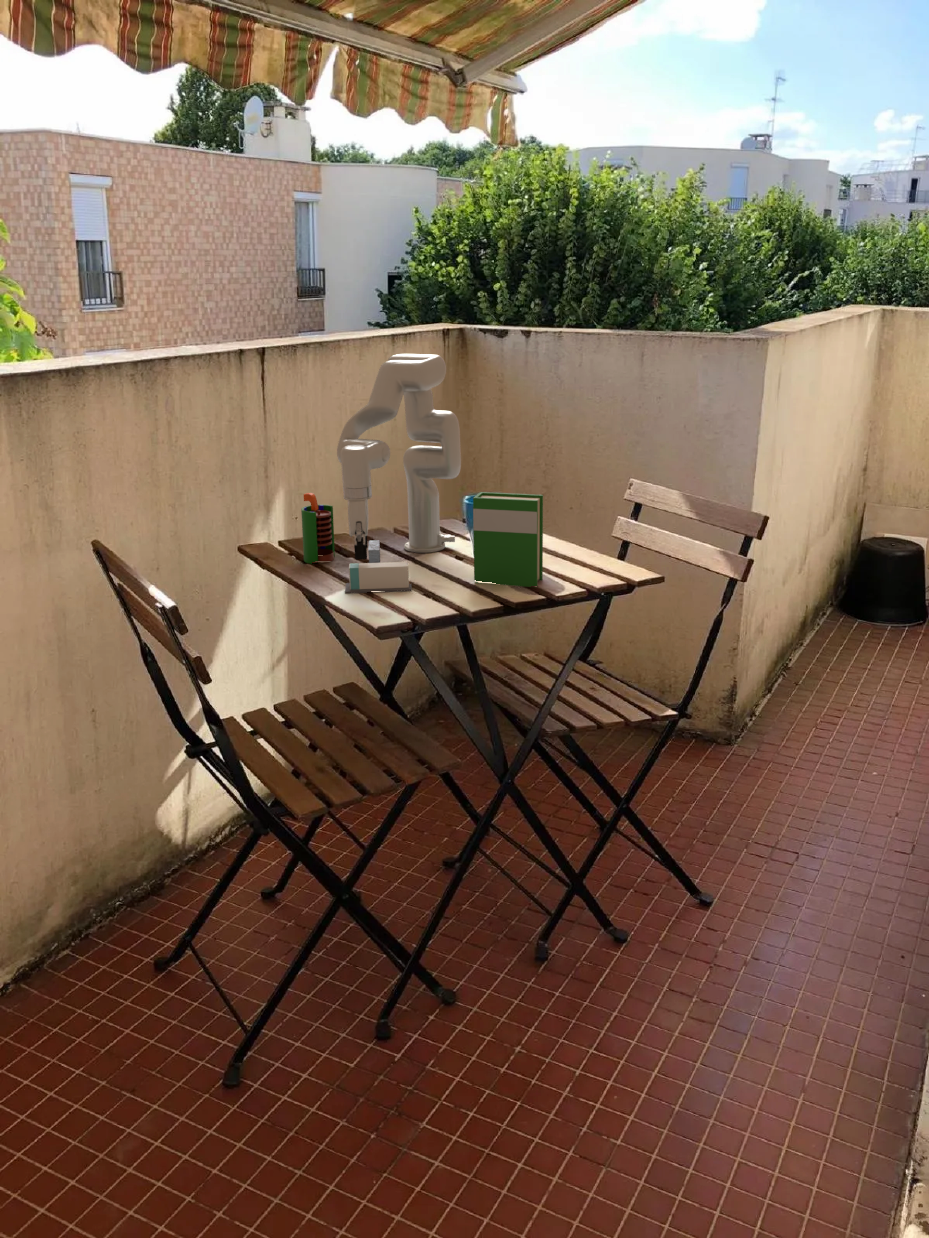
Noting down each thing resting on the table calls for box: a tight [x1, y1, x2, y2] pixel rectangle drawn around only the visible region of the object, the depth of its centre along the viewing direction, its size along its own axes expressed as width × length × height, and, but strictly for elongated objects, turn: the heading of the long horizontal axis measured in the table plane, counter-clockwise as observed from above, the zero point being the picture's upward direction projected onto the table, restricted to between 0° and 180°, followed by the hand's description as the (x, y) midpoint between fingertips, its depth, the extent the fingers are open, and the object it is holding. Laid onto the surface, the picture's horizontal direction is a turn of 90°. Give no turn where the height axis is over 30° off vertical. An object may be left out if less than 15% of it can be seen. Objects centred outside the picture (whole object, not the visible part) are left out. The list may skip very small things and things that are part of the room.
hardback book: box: [472, 491, 544, 588], centre depth 301 cm, size 18×7×24 cm, turn 74°
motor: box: [301, 492, 336, 565], centre depth 326 cm, size 10×9×20 cm
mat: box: [344, 582, 413, 594], centre depth 301 cm, size 18×8×1 cm, turn 94°
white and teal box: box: [348, 561, 410, 590], centre depth 300 cm, size 16×4×6 cm, turn 94°
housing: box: [367, 539, 381, 563], centre depth 312 cm, size 3×16×9 cm, turn 4°
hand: (361, 553), depth 298 cm, fingers open, 9 cm apart
